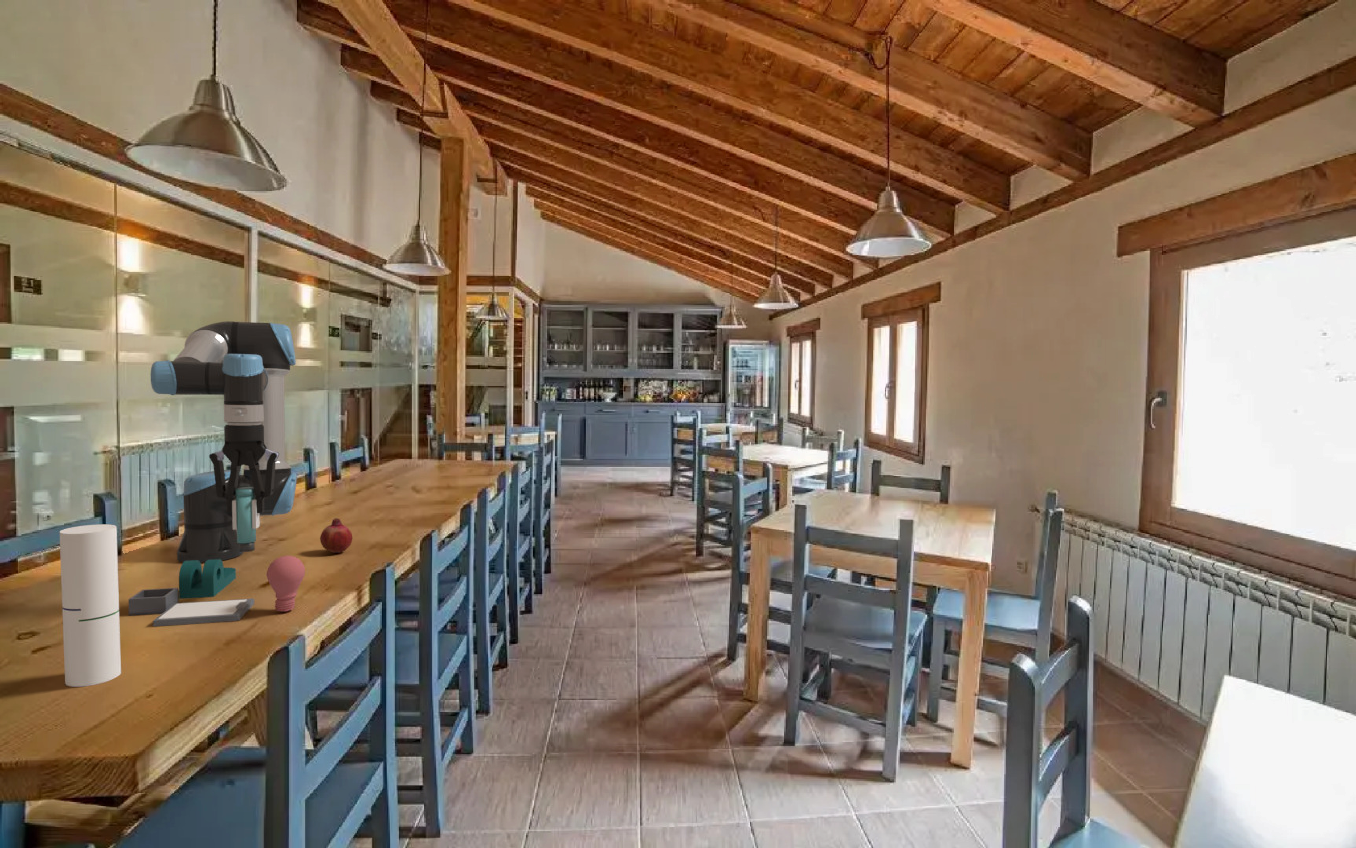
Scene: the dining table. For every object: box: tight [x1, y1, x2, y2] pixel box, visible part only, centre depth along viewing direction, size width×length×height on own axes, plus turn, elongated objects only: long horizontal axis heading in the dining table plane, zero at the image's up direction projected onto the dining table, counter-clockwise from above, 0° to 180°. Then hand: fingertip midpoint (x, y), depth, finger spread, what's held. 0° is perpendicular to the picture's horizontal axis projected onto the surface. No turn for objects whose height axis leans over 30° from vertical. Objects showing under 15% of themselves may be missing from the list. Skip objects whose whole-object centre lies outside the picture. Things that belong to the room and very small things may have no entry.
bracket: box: [178, 559, 237, 600], centre depth 166 cm, size 18×7×8 cm, turn 16°
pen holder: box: [128, 587, 179, 617], centre depth 150 cm, size 7×7×4 cm
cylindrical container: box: [59, 523, 122, 688], centre depth 116 cm, size 7×7×25 cm
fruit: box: [319, 518, 353, 554], centre depth 199 cm, size 8×8×10 cm
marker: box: [235, 487, 257, 553], centre depth 157 cm, size 4×4×14 cm
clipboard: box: [152, 598, 255, 627], centre depth 147 cm, size 11×15×2 cm
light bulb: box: [266, 555, 306, 613], centre depth 150 cm, size 7×7×12 cm
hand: (246, 527), depth 157 cm, fingers closed on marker, 3 cm apart
